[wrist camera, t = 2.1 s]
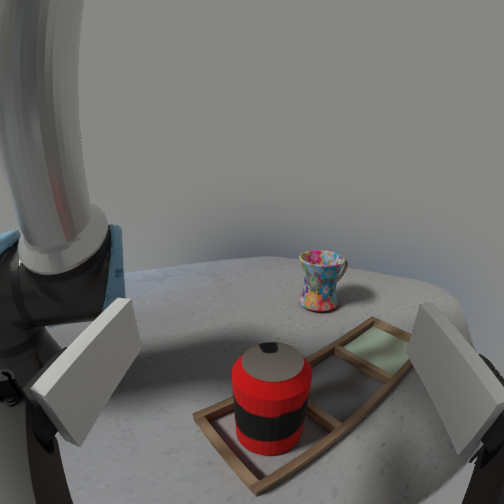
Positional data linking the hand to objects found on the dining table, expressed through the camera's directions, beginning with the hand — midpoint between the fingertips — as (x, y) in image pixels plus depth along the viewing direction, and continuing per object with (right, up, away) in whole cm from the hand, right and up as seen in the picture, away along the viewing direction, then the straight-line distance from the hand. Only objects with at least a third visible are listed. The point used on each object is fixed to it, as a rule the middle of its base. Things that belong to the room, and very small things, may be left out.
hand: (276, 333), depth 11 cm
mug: (+14, -8, +47) cm, 49 cm away
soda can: (+1, -18, +16) cm, 24 cm away
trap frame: (+11, -15, +23) cm, 29 cm away
